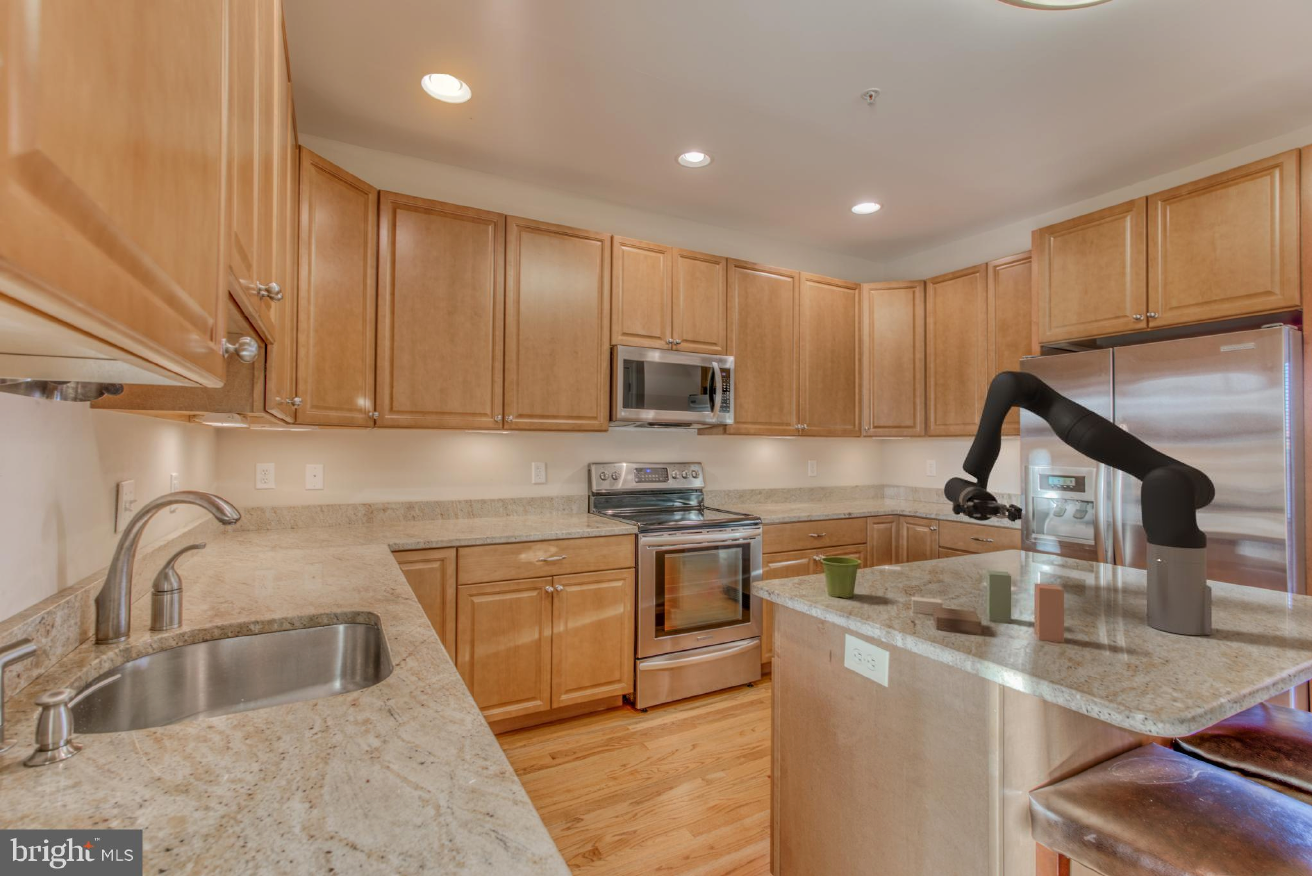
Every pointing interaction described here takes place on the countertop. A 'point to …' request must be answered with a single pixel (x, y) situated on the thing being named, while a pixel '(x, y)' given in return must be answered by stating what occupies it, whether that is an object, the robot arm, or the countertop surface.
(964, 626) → the walnut brick
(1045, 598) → the terracotta block
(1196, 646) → the countertop surface
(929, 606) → the cream brick
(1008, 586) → the sage block
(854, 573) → the object
